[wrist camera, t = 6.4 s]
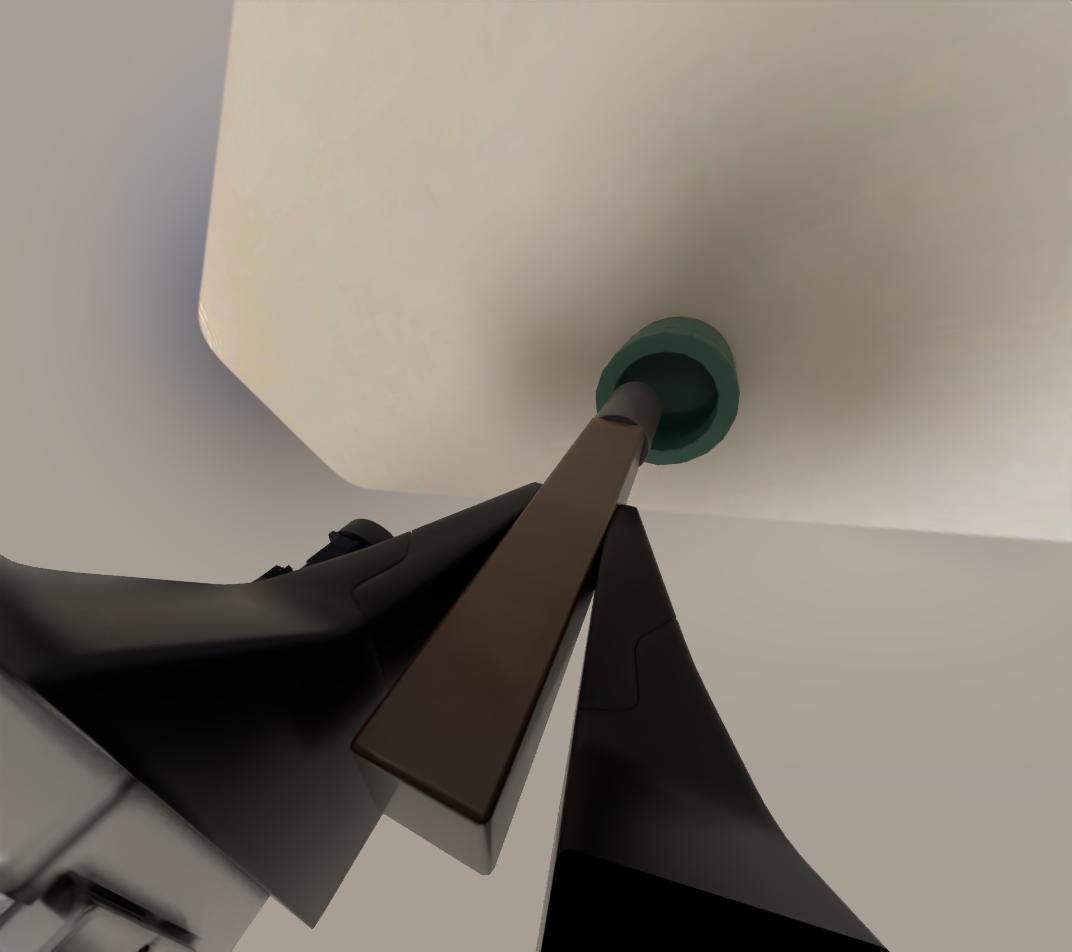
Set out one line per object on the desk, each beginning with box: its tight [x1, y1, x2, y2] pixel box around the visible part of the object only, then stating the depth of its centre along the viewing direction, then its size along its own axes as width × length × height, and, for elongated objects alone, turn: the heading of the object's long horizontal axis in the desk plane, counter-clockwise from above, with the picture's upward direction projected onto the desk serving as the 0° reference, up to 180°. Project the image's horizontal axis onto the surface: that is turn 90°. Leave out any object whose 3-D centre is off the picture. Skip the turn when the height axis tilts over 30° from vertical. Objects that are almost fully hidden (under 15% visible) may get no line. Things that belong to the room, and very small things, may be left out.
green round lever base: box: [596, 317, 740, 465], centre depth 17 cm, size 5×6×4 cm
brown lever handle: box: [350, 382, 663, 875], centre depth 9 cm, size 2×2×13 cm
